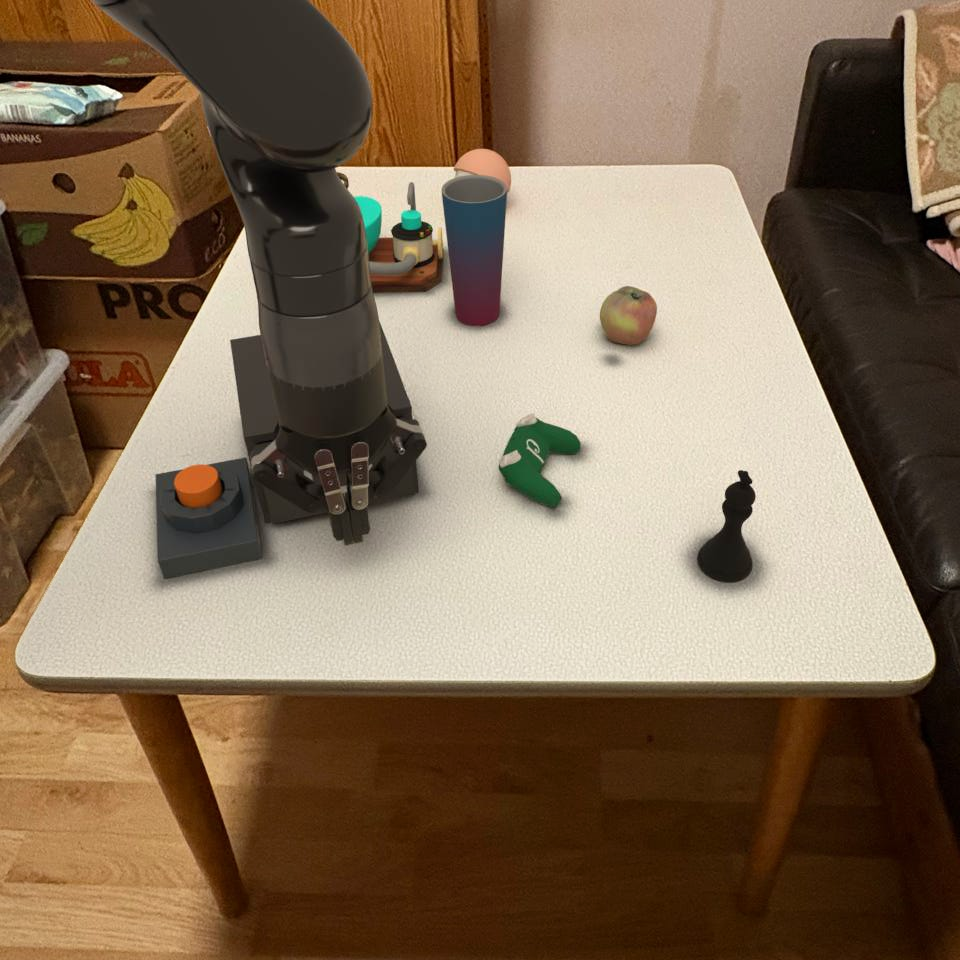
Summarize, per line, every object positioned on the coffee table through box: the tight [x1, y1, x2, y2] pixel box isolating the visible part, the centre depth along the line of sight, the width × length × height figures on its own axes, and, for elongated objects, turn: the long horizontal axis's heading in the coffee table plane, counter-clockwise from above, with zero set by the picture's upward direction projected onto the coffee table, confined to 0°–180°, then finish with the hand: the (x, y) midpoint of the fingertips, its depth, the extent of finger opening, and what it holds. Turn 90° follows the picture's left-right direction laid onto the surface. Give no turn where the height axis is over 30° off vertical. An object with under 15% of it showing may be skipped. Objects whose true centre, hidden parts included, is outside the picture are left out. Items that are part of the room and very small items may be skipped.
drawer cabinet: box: [229, 320, 420, 524], centre depth 83 cm, size 15×14×10 cm
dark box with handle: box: [254, 417, 416, 524], centre depth 80 cm, size 18×12×8 cm
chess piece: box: [696, 469, 757, 583], centre depth 71 cm, size 4×4×10 cm
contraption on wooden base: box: [336, 171, 445, 293], centre depth 106 cm, size 14×18×15 cm
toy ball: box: [453, 148, 512, 195], centre depth 122 cm, size 8×8×8 cm
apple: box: [599, 285, 658, 346], centre depth 97 cm, size 6×8×6 cm
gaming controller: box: [498, 412, 581, 508], centre depth 82 cm, size 9×4×6 cm
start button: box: [174, 463, 222, 508], centre depth 76 cm, size 4×4×2 cm
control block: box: [155, 457, 263, 580], centre depth 78 cm, size 11×8×4 cm
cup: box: [441, 175, 508, 327], centre depth 99 cm, size 7×7×15 cm
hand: (352, 536), depth 71 cm, fingers closed
